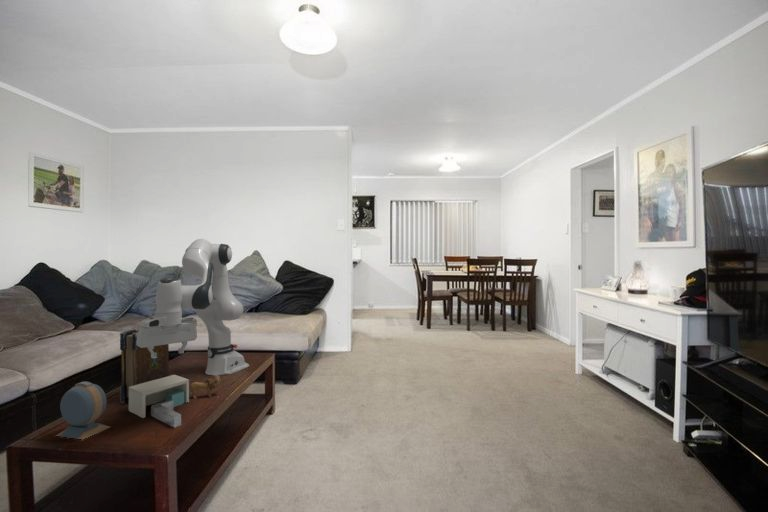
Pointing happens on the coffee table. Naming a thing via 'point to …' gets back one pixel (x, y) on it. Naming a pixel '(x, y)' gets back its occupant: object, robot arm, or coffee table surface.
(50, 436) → the coffee table surface
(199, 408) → the coffee table surface
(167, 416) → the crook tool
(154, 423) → the coffee table surface
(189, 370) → the coffee table surface
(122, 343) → the decorative book
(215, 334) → the robot arm
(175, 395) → the cube
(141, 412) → the block
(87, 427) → the alarm clock
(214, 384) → the lion figurine
